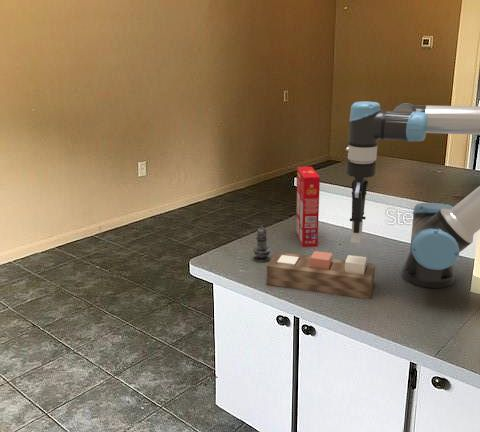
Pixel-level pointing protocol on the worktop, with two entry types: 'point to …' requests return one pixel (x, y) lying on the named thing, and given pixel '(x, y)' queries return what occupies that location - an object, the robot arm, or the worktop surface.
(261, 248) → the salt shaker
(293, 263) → the far button
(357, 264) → the near button
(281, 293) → the worktop surface
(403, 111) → the robot arm
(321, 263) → the middle button
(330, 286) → the mount
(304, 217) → the food packaging
